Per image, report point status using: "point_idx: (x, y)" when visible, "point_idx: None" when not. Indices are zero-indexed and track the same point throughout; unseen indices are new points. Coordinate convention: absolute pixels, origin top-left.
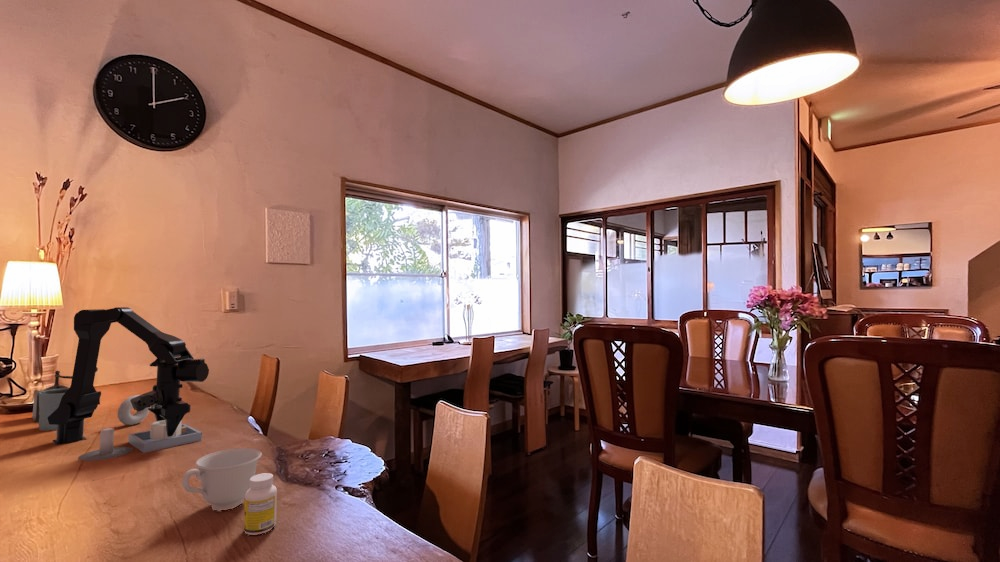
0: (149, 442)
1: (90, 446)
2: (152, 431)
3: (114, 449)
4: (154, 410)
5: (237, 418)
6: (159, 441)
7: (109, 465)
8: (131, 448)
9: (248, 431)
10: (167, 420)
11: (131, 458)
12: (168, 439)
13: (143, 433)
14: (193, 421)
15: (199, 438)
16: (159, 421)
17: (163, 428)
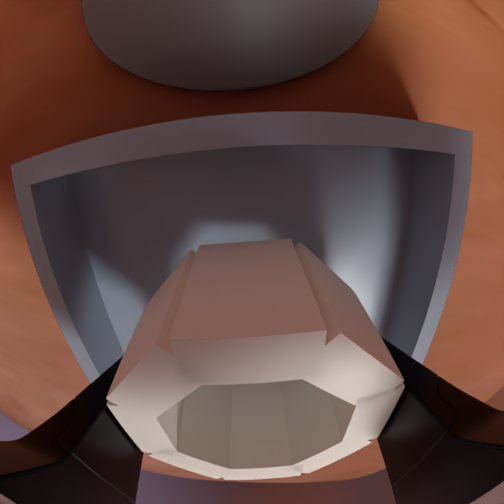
0: (23, 202)
1: (491, 19)
2: (213, 284)
3: (300, 3)
4: (492, 473)
5: (380, 468)
6: (39, 265)
7: (21, 16)
8: (225, 87)
9: (199, 476)
10: (21, 439)
11: (43, 91)
12: (58, 317)
13: (439, 227)
14: (476, 394)
15: None
16: (369, 403)
17: (118, 372)
